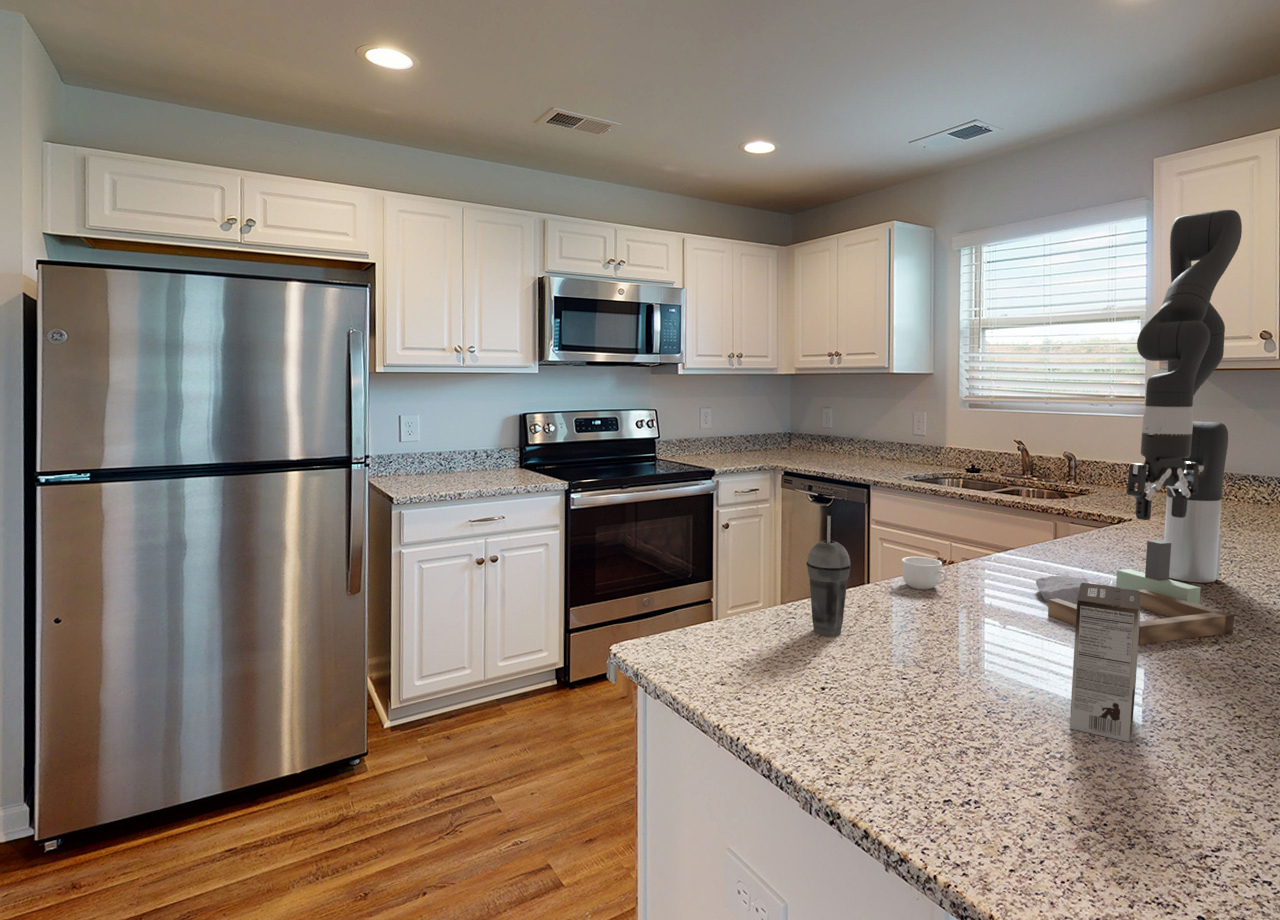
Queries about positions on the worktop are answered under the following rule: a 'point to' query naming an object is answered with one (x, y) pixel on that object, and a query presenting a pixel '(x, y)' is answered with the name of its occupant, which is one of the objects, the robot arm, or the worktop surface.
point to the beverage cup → (828, 584)
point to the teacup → (922, 572)
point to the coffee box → (1105, 661)
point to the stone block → (1060, 588)
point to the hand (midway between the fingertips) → (1160, 518)
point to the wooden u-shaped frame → (1181, 625)
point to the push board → (1157, 586)
